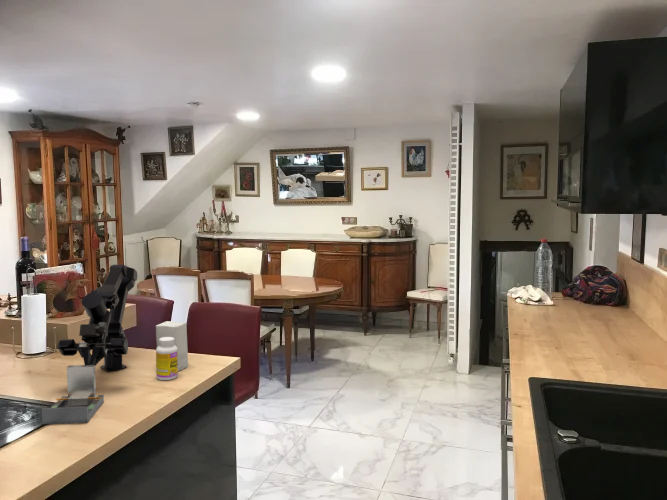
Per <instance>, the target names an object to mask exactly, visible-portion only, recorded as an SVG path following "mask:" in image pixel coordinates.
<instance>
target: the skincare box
mask: <svg viewBox="0 0 667 500" xmlns="http://www.w3.org/2000/svg"><path fill="white" fill-rule="evenodd" d="M187 329H188V328H187V322H181V321H170V320H169V321H168V320H167V321H163V322H162V323H159V324H157V325H155V335H156V336H155V337H156V338H155V339H156V348H157V347H158V346H160V344H159V339H160V338H163V337H173V338H174V345H175V346H176V347H177V349H178V372H180V371H182V370H184V369H186V368H188V367H189V356H188V355H189V353H188V352H189V351H188V334H187V333H188V331H187Z"/></svg>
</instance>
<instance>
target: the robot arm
mask: <svg viewBox="0 0 667 500" xmlns="http://www.w3.org/2000/svg"><path fill="white" fill-rule="evenodd" d="M136 281H138V272H137V270H136V269H135V268H133V267H130V266H127V265H126V264H112V265H110V267H109V272H108V274H107V275H106V278H105V280H104V281H103V284H102V285H101V286H99V287H97V288H95V289H92V290H91V291H90V293H87V294H86V295H85V296H83V298H82V299H81V304H82V307H83V309H84V312H85V313H86V315H87V317H89V321H88V324H85V323H84V324H82V323H81V324H80V325H79V333H78V334H79V335H78V336H79V337H81V338H80V339H81V340H82V341H79V342H77V343H76V341H75V339H74V338H64V339H63V338H61V339H60V340H59V341H58V342H57V346H56V347H57V349H58V350H59V353H60V354H61V356H64V357H73V356H75V355H77V354H79V356H80V357H81V358H83V362H84V364H83V365H95V367H96V366H97V365H98V364H99V362H101V361H102V360H103V362H104V363H103V365H100V366H99V367H100V369H102V370H104V371H106V372H108V373H110V372H113V371H119V370H122V369H126V368H127V367H128V366H127V365H125V364H123V355H124V356H126V355H127V354H128V351H129V343H128V342H129V341H128V339H127V337H126V334H125V331H124V328H123V326H122V324H123V319H124V314H125V308H126V305H127V304H126V303H127V298H128V294H129V292H130V291H131V290H132V289H134V287H135V284H136Z"/></svg>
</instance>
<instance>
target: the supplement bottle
mask: <svg viewBox="0 0 667 500" xmlns="http://www.w3.org/2000/svg"><path fill="white" fill-rule="evenodd" d="M159 344H160V346H158V347H157V346H156V350H155V354H156V355H155V365H156V366H155V372H156V374H155V375H156V379H157V380H159V381H171V380H174V379H176V378H177V377H178V375H179V374H178V373H179V371H178V349H177V347H176V346H175V345H174V338H173V337H163V338H160V339H159Z"/></svg>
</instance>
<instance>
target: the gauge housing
mask: <svg viewBox="0 0 667 500" xmlns="http://www.w3.org/2000/svg"><path fill="white" fill-rule="evenodd" d="M104 396H105V395H104V394H98V395H96V397H101V399H95V400H94V401H91V402H90V403H89V404H88V405H81V406H68V400H57V401H56V402H55V403H54V404H53V405H52V406H51V407H43V408H41V425H64V424H66V425H67V424H87V423H89V422H90V420H91V419H92V417H93V416H95V414H96V413H97V411H98V410H99V409H100V407H101V406H102V405H103V404H104V401H105V400H104ZM60 398H68V395H63V396H61V397H60Z"/></svg>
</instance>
